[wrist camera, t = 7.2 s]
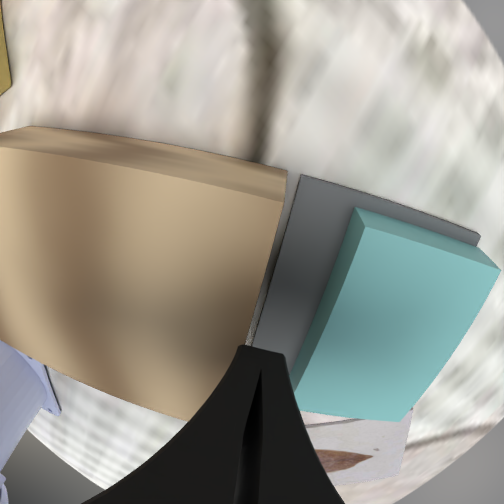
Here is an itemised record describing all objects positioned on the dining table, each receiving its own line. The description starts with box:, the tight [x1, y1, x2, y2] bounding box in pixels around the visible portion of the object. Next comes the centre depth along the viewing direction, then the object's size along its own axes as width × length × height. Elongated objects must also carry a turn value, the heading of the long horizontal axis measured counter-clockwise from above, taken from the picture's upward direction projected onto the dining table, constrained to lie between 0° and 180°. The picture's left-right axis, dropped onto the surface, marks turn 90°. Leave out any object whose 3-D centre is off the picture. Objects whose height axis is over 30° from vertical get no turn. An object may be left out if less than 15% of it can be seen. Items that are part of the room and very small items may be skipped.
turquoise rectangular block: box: [289, 207, 501, 422], centre depth 12 cm, size 6×9×2 cm, turn 168°
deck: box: [0, 126, 288, 421], centre depth 12 cm, size 12×10×4 cm
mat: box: [252, 174, 481, 375], centre depth 13 cm, size 8×10×1 cm
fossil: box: [305, 408, 413, 486], centre depth 20 cm, size 16×1×10 cm
